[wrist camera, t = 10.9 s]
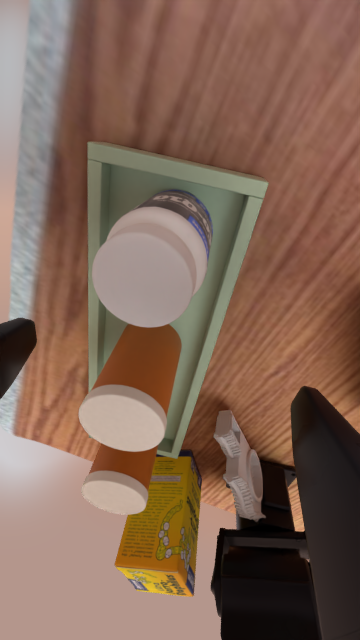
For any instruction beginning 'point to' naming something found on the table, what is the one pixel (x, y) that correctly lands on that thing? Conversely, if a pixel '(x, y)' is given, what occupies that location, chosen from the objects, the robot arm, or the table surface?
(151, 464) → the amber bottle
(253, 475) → the garden wall model
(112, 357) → the amber bottle middle
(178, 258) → the pill bottle
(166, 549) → the supplement box
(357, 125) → the table surface
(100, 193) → the tray
